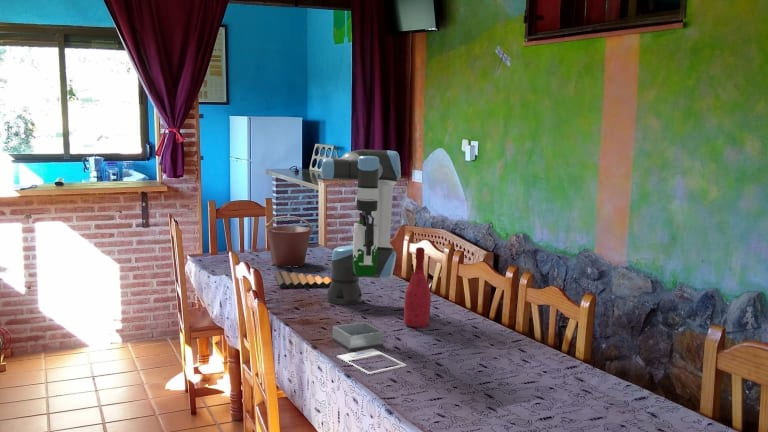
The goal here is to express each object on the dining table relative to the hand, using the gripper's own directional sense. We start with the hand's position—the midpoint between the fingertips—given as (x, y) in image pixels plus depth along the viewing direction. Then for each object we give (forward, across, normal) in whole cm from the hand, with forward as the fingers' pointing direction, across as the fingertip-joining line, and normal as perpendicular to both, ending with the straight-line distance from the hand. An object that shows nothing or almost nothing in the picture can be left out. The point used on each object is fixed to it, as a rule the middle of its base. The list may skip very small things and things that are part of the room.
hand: (364, 261), depth 253 cm
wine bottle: (+26, -6, +22) cm, 35 cm away
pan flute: (+26, -79, -13) cm, 84 cm away
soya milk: (+5, 0, 0) cm, 5 cm away
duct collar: (+26, +13, -4) cm, 29 cm away
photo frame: (+27, +31, -3) cm, 42 cm away
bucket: (+25, -118, -16) cm, 122 cm away
